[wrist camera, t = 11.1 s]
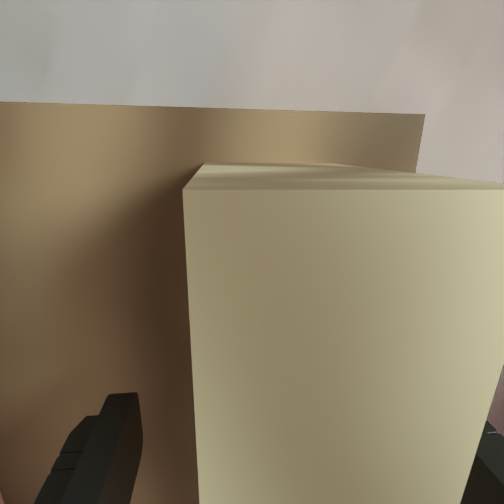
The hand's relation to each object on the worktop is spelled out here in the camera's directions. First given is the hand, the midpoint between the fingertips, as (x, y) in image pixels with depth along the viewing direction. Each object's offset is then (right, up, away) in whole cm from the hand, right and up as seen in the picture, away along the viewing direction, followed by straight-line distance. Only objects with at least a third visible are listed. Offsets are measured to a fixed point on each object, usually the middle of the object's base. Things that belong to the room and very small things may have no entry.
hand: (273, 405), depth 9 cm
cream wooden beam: (0, +1, +3) cm, 3 cm away
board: (-3, +2, +5) cm, 6 cm away
